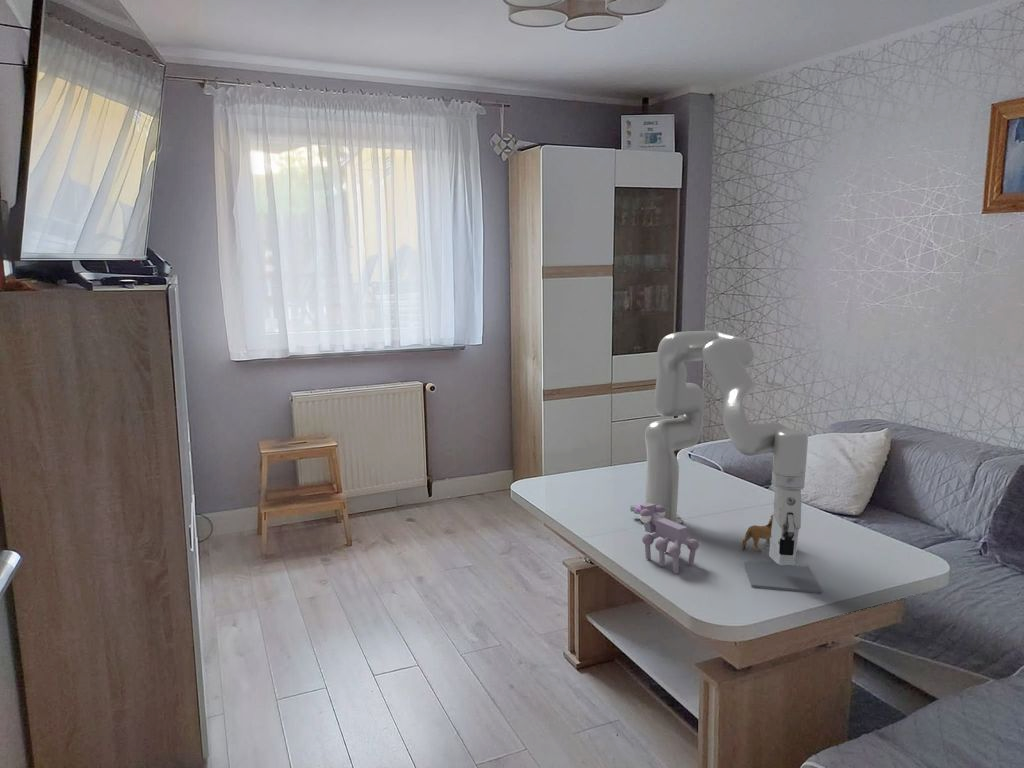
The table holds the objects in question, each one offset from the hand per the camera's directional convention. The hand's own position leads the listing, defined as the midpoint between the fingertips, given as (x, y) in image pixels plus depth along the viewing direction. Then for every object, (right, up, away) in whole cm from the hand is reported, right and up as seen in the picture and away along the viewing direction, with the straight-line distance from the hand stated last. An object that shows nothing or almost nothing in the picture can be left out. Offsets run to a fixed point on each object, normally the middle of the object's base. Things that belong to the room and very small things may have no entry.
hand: (783, 548), depth 173 cm
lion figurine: (+2, -5, +21) cm, 21 cm away
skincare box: (0, -3, +1) cm, 4 cm away
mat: (0, -8, +1) cm, 8 cm away
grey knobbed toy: (-28, -6, +13) cm, 32 cm away
